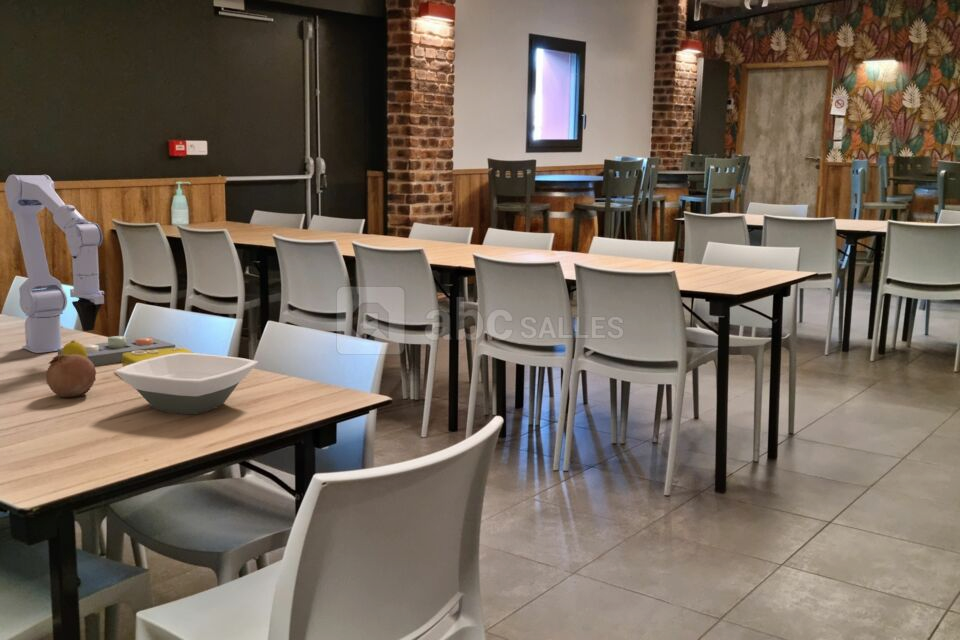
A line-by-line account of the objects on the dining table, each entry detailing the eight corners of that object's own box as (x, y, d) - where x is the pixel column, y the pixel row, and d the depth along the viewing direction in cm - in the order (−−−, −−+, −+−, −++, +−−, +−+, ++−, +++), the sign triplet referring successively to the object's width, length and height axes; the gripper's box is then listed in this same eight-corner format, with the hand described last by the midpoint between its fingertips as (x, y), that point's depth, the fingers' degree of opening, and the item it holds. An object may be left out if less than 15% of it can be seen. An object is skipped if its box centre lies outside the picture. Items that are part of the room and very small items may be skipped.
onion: (55, 413, 196) (29, 373, 191) (70, 390, 204) (45, 351, 200) (97, 398, 195) (71, 358, 190) (110, 376, 203) (86, 337, 199)
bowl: (203, 427, 178) (202, 382, 177) (105, 413, 186) (103, 370, 184) (268, 400, 198) (268, 360, 197) (177, 388, 206) (176, 350, 205)
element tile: (141, 383, 212) (140, 362, 211) (120, 371, 223) (119, 351, 222) (206, 375, 221) (206, 355, 220) (182, 363, 232) (182, 344, 231)
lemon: (81, 378, 213) (80, 343, 212) (57, 377, 213) (55, 342, 212) (92, 372, 219) (90, 338, 217) (68, 372, 219) (66, 337, 218)
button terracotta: (132, 349, 241) (132, 339, 241) (148, 347, 244) (148, 337, 244) (140, 351, 238) (140, 341, 238) (156, 349, 241) (155, 339, 241)
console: (58, 358, 232) (57, 348, 232) (151, 346, 249) (150, 337, 249) (80, 367, 223) (80, 357, 223) (175, 354, 240) (175, 344, 240)
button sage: (105, 347, 236) (105, 337, 236) (121, 345, 239) (121, 335, 238) (112, 350, 233) (112, 339, 233) (129, 348, 236) (129, 337, 236)
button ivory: (77, 356, 231) (76, 345, 231) (94, 354, 234) (94, 343, 234) (84, 359, 228) (84, 348, 228) (101, 356, 231) (101, 346, 231)
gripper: (115, 276, 226) (117, 332, 228) (89, 269, 236) (91, 323, 238) (86, 278, 221) (88, 335, 223) (60, 271, 231) (63, 327, 233)
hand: (88, 330), depth 230 cm, fingers closed
